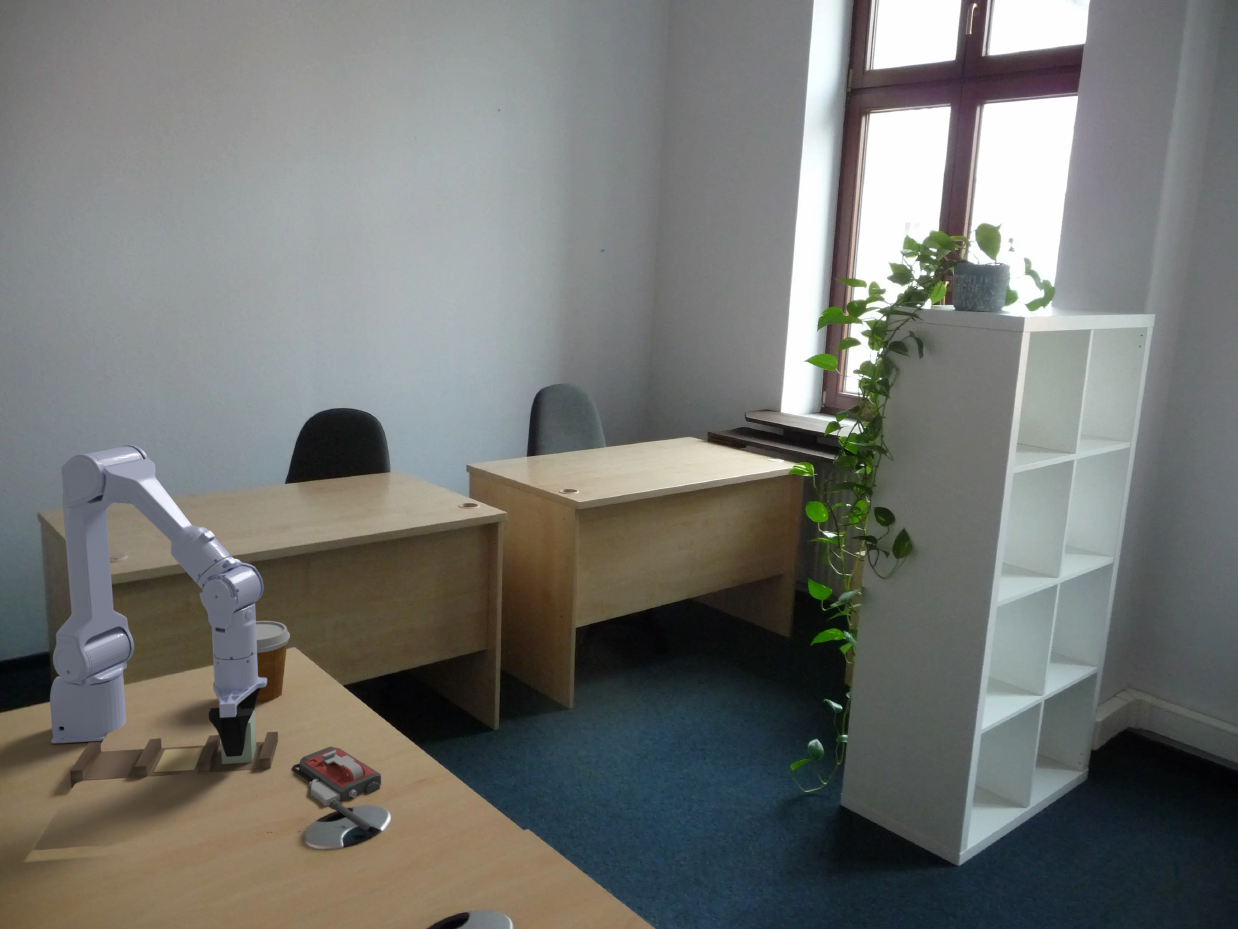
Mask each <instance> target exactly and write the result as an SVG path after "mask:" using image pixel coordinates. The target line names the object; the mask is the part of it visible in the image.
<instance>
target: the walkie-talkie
mask: <svg viewBox="0 0 1238 929" xmlns="http://www.w3.org/2000/svg"><path fill="white" fill-rule="evenodd" d="M297 768H298V769H297ZM292 771H294V772H295V773H297V774H298V775H300V776H302V778H304V779H305V780H307V781H308V783H309V784H308V785H309V787H310V795H311V797H313V798H315V799H316V801H319V802H320V803H321V804H322V805H323V806H324V807H328V806H329V807H330V808H332V809H334V810H336V811H337V812H339V813H340V814H342V815H343V816H345V817H346V818H348V819H349V820H351V821H352V822H353V823H354V824H356V826H357V827H359V828H360V829H362V830H364V831H369V829H370V827H371V826H370V824H369V823H368V822H367V821H366V820H364V819H363V818H361V817H360V816H358V815H357V814H355V813H354V812H352V811H351V810H350V809H348V808H347V807H346V806H344V805H343V803H342V802H340V801H346V800H349V799H350V798H355V797H357V796H358V795H360V794H362V793H364V792H365V794H367V795H368V794H371V793H372V792H374V791H377V790H380V789H381V785H382V774H381V773H379V772H378V771H377V770H375V769H374V768H372V767H370V766H369V765H367V764H366V763H364V762H362V761H360V760H359V759H357V758H355V757H353V756H352V755H351V754H349V753H347V752H346V751H345V750H343V749H341V748H339V747H334V746H328V747H325V748H323V749H320V750H317V751H314V752H312V753H310V754H306V755H305V756H302V757H301V758H300V759H299V763H296V764H294V765H293V766H292Z"/></svg>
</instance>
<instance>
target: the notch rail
mask: <svg viewBox="0 0 1238 929" xmlns="http://www.w3.org/2000/svg"><path fill="white" fill-rule="evenodd" d="M101 742H102V741H90V742H88V744H87V745H86V746H85V748H84V749H83V751H82V752H81V753H80V755H79V757H78V758H77V760H76V761H75V763H74V765H73V766H72V767H71V769H70V770H69V772H70V775H69V776H70V785H71V786H70V787H71V789H72V788H74V787H75V784H76V783H77V782H79V781H80V782H82V781H83V782H84V781H85V782H86V781H99V780H100V781H101V780H110V779H111V780H113V779H127V778H128V779H129V778H141V777H142V778H144V777H159V776H161V777H162V776H174V775H176V776H177V775H188V774H189V775H191V774H203V773H205V774H206V773H218V772H219V773H220V772H222V773H223V772H233V771H237V772H238V771H248V770H249V771H252V770H264V769H265V770H267V769H271V768H272V765H273V761H274V757H275V754H276V750H277V747H278V743H279V731H266V734H265V738H264V740H263V741H258V742H257V741H256V751H255V755H254V758H253V761H252V762H248V763H232V764H222V754H221V739H220V736H219V734H215V735H208V737H207V740H206V742H205V744H204V745H192V746H191V745H190V746H189V745H188V746H173V747H172V746H171V747H162V738H149V739H148V742H147V743H146V745H145V747H144V748H143V749H142V748H139V749H126V750H125V749H124V750H121V749H120V750H107V751H106V750H105V751H102V748H101V747H102V745H101Z"/></svg>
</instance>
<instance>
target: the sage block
mask: <svg viewBox="0 0 1238 929" xmlns="http://www.w3.org/2000/svg"><path fill="white" fill-rule="evenodd" d="M256 726H257V725H256V710H253V713H252V715H251V717H250V719H249V721H248V725H247V729H246V737H245V745H244V750H243V753H242V756H233V757H226V754H225V752H224V749H223V746H222V742H221V741H220V744H221V754H222V764H232V763H248V762H252V761H253V758H254V755H255V751H256V742H257V732H256V729H257V728H256Z"/></svg>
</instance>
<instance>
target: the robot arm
mask: <svg viewBox="0 0 1238 929" xmlns="http://www.w3.org/2000/svg"><path fill="white" fill-rule="evenodd" d="M60 468H61V481H62V497H61V498H62V499H61V500H62V511H63V512H62V514H63V515H62V516H63V524H64V537H65V539H64V540H65V547H66V548H65V549H66V550H65V551H66V560H67V574H68V585H69V586H68V587H69V596H70V597H69V598H70V610H71V614H70V616H69V617H68V618H67V619H66V621H65V622H64V623H63V624H62V625H61V626H60V628H59V629H58V630H57V632H56V633H55V641H56V644H55V648H54V651H53V654H52V663H53V667H54V669H55V671H56V673H57V675H59V676H56V677H55V678H54V680H53V682H52V685H51V688H50V694H49V705H50V706H49V707H50V718H51V729H52V732H51V733H52V738H51V744H70V743H71V744H72V743H85V742H88V743H90V742H102V741H104V739H105V738H106V737H107V735H108V733H109V734H110V733H112V732H114V731H117V730H119V729H120V728H122V727H124V725H125V724H126V722H127V713H126V712H127V711H126V698H125V683H124V682H125V681H124V670H125V669H127V666H128V665H127V661H129V660H130V659H131V658H132V656H133V654H134V650H135V642H134V639H133V635H132V634H131V631H130V628H129V623H128V618H127V616H125V615H123V614H122V613H119V612H117V611H115V610H114V597H113V596H114V595H113V587H112V586H113V585H112V584H113V583H112V572H111V560H110V558H111V557H110V544H109V532H108V530H109V529H108V518H107V516H108V515H107V509H108V508H109V507H110V506H111V505H112V504H113V503H115V504H129V505H132V506H134V508H136V509H137V510H138V511H139V512H140V513H141V514H142V515H143V516H144V517H145V518H146V519H147V520H148V521H149V522H150V523H151V524H153V525H154V527H156V528H157V529H158V530H159V531H160V532H161V533H162V534H163V535H164V536H165V537H166V538H167V539H168V540H169V541H170V543H171V544H170V556H172V557H173V558H174V560H175V561H176V562H177V563H178V564H179V566H181V567H182V568H183V570H184V571H185V573H187V574H188V576H189V577H191V579H192V580H193V581H194V582H195V583H196V584H197V586H198V587H200V589H201V590H202V591H201V592H199V598H200V602H201V604H202V606H203V608H204V609H205V610H206V612H207V618H208V619H207V620H208V621H207V622H208V623H209V625H210V626H211V638H212V639H211V640H212V658H213V677H214V678H213V680H214V682H213V683H212V689H213V693H214V695H215V696H216V699H217V701H218V702H219V704H218V706H219V707H211V708H210V710H209V712H208V719H209V722H210V723H211V724H212V725H213V727H214V728H215V730H216V731H217V733H218V734H217V735H219V736H220V743H221V742H222V746H223V749H224V752H225V754H226V757H233V756H242V753H243V750H244V745H245V737H246V729H247V725H248V721H249V719H250V717H251V715H252V713H253V710H255V709H256V704H257V703H256V700H257V696H258V693H259V691H260V689H261V688H263V687H265V686H266V684H267V678H261V677H258V665H257V639H256V621H257V620H256V618H257V614H256V613H257V612H256V602H258V601H259V600H260V598H261V597H262V596H263V593H264V591H265V590H264V589H265V588H264V587H265V586H264V580H263V578H262V576H261V574H260V572H259V571H258V569H257V568H256V566H255V565H252V564H251V563H247V562H242V561H241V560H240V559H237V558H234V557H233V555H231V554H230V553H229V552H228V550H227V549H226V548H225V547H224V546H223V545H222V544H221V542H219V540H217V538H216V535H215V534H214V533H213V531H211V530H209V529H208V528H207V527H204V526H196V525H193V524H192V523H191V522H190V520H189V519H188V518H187V517H186V516H185V514H184V512H182V510H181V508H180V507H179V506H178V505H177V503H176V502H175V501H174V500H173V499H172V496H171V495H170V494H169V493H168V492H167V491H166V489H165V488H164V487H163V485H162V484H161V483H160V481H159V480H158V478H156V471H157V470H156V464H155V462H153V461H152V460H151V459H150V458H149V457H148V455H147V453H146V452H145V451H144V450H143V449H142V448H141V447H139V445H138V446H137V445H135V444H125V445H122V446H120V447H114V448H110V449H105V450H100V451H94V452H93V451H92V452H87V453H78V454H75V455H73V456H72V457H71V458H70V459H68V460H67V461H66V462H65V463H64V464H63V465H62V466H61V467H60ZM255 711H256V710H255Z"/></svg>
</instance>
